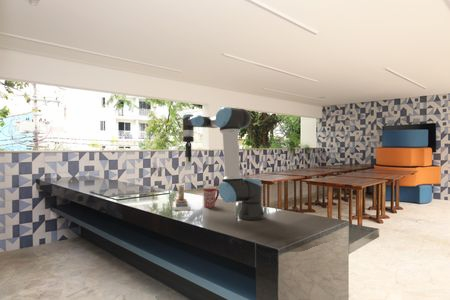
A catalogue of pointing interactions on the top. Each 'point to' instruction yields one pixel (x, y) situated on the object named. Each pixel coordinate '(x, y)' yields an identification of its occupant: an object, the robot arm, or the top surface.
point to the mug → (210, 196)
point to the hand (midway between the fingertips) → (188, 166)
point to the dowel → (181, 193)
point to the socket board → (181, 205)
